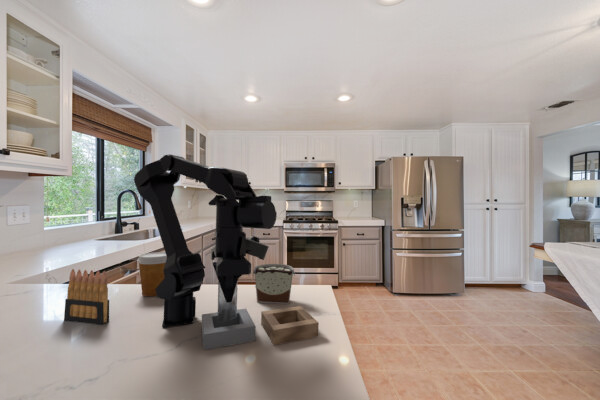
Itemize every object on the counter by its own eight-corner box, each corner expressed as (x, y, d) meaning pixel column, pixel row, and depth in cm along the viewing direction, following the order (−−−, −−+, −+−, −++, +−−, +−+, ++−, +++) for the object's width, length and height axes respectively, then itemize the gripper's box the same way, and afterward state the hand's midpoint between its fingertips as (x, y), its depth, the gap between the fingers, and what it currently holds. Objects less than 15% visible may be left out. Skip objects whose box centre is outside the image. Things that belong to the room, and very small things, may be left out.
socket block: (203, 350, 50) (203, 334, 50) (201, 327, 60) (201, 314, 60) (255, 340, 54) (255, 326, 54) (245, 321, 63) (246, 308, 63)
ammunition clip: (109, 321, 62) (111, 270, 62) (102, 325, 60) (104, 272, 61) (71, 317, 64) (73, 267, 64) (63, 320, 62) (65, 269, 62)
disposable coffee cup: (158, 286, 89) (159, 251, 89) (177, 291, 84) (178, 253, 85) (129, 294, 80) (130, 255, 81) (148, 300, 76) (149, 258, 76)
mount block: (273, 345, 52) (273, 330, 53) (261, 324, 62) (261, 311, 62) (318, 336, 56) (318, 322, 56) (300, 318, 66) (300, 305, 66)
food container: (296, 296, 81) (297, 264, 81) (294, 304, 75) (294, 268, 75) (257, 294, 82) (258, 262, 83) (252, 301, 76) (252, 267, 76)
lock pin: (218, 322, 54) (219, 278, 55) (216, 315, 58) (217, 274, 58) (238, 319, 56) (239, 277, 56) (235, 312, 60) (236, 272, 60)
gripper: (277, 230, 52) (275, 309, 52) (256, 223, 69) (254, 283, 69) (218, 230, 48) (216, 318, 47) (211, 223, 65) (209, 287, 65)
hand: (227, 298), depth 57 cm, fingers closed on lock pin, 4 cm apart
